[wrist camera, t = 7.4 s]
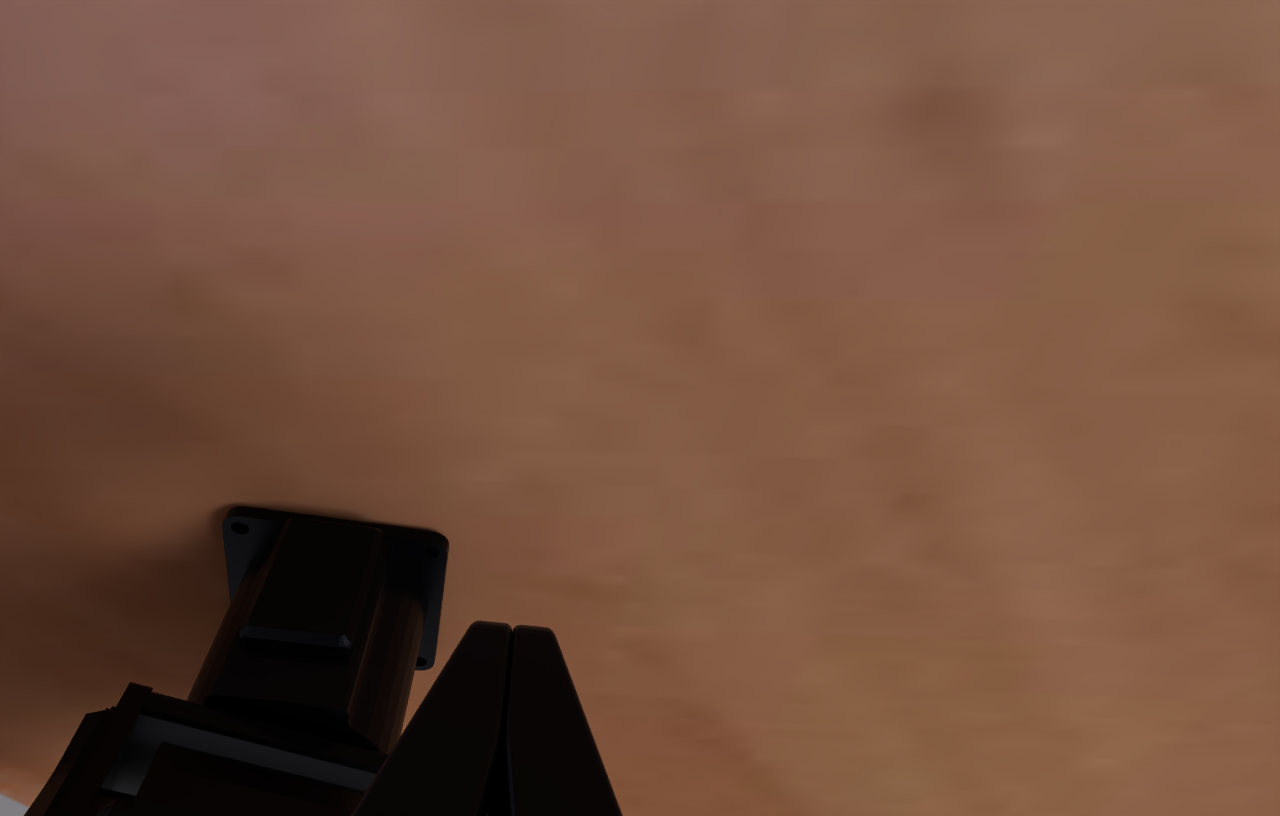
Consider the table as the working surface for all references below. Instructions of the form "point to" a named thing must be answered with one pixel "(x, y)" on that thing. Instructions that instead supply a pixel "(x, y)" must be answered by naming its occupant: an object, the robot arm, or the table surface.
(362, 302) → the table surface
